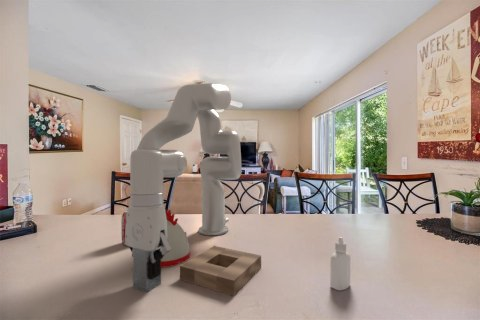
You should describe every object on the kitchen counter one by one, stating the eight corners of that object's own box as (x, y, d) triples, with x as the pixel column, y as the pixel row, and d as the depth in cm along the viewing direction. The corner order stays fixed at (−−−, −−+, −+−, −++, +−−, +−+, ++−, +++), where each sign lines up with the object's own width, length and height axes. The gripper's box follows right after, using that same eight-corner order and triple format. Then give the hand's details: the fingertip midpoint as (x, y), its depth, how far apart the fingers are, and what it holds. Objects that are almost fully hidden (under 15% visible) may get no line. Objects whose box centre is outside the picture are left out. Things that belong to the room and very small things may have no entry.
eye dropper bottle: (325, 282, 62) (325, 234, 61) (346, 280, 62) (346, 234, 62) (334, 291, 57) (334, 240, 57) (356, 290, 58) (356, 240, 58)
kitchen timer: (167, 246, 86) (167, 204, 86) (198, 253, 80) (198, 207, 79) (133, 261, 74) (133, 211, 73) (167, 271, 67) (167, 217, 67)
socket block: (214, 256, 77) (214, 245, 77) (261, 267, 69) (261, 255, 69) (179, 279, 63) (179, 265, 63) (234, 295, 55) (234, 280, 55)
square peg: (147, 279, 63) (148, 240, 62) (160, 283, 60) (160, 243, 60) (133, 287, 59) (133, 246, 58) (146, 292, 56) (146, 249, 56)
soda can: (134, 247, 84) (134, 213, 84) (117, 246, 86) (116, 212, 86) (146, 240, 91) (146, 208, 91) (129, 239, 93) (129, 208, 93)
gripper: (110, 199, 60) (110, 273, 60) (161, 206, 52) (161, 290, 52) (136, 195, 67) (136, 261, 67) (184, 200, 59) (184, 275, 59)
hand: (147, 273), depth 60 cm, fingers closed on square peg, 4 cm apart
